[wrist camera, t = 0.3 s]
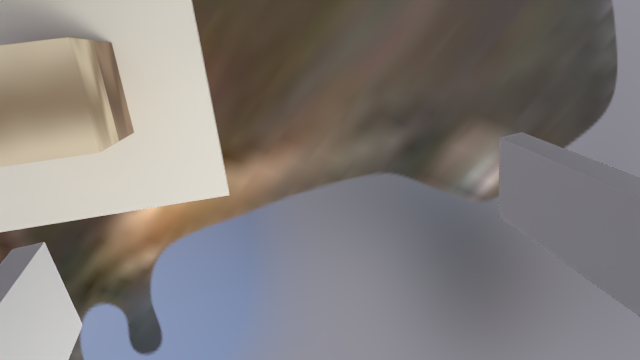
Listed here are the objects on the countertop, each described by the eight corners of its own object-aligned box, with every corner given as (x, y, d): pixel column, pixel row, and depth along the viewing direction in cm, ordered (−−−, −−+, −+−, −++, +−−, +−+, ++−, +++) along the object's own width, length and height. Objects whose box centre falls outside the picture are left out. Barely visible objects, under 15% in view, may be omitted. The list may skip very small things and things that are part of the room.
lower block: (15, 54, 32) (-17, 53, 29) (111, 42, 33) (92, 40, 29) (44, 145, 34) (17, 156, 31) (134, 132, 35) (119, 141, 31)
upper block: (-17, 53, 29) (-59, 52, 25) (92, 40, 29) (67, 37, 26) (17, 156, 31) (-18, 169, 27) (119, 141, 31) (99, 152, 27)
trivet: (-107, -29, 31) (-114, -30, 30) (180, -59, 33) (179, -61, 32) (-11, 231, 36) (-15, 234, 36) (229, 193, 38) (229, 195, 38)
